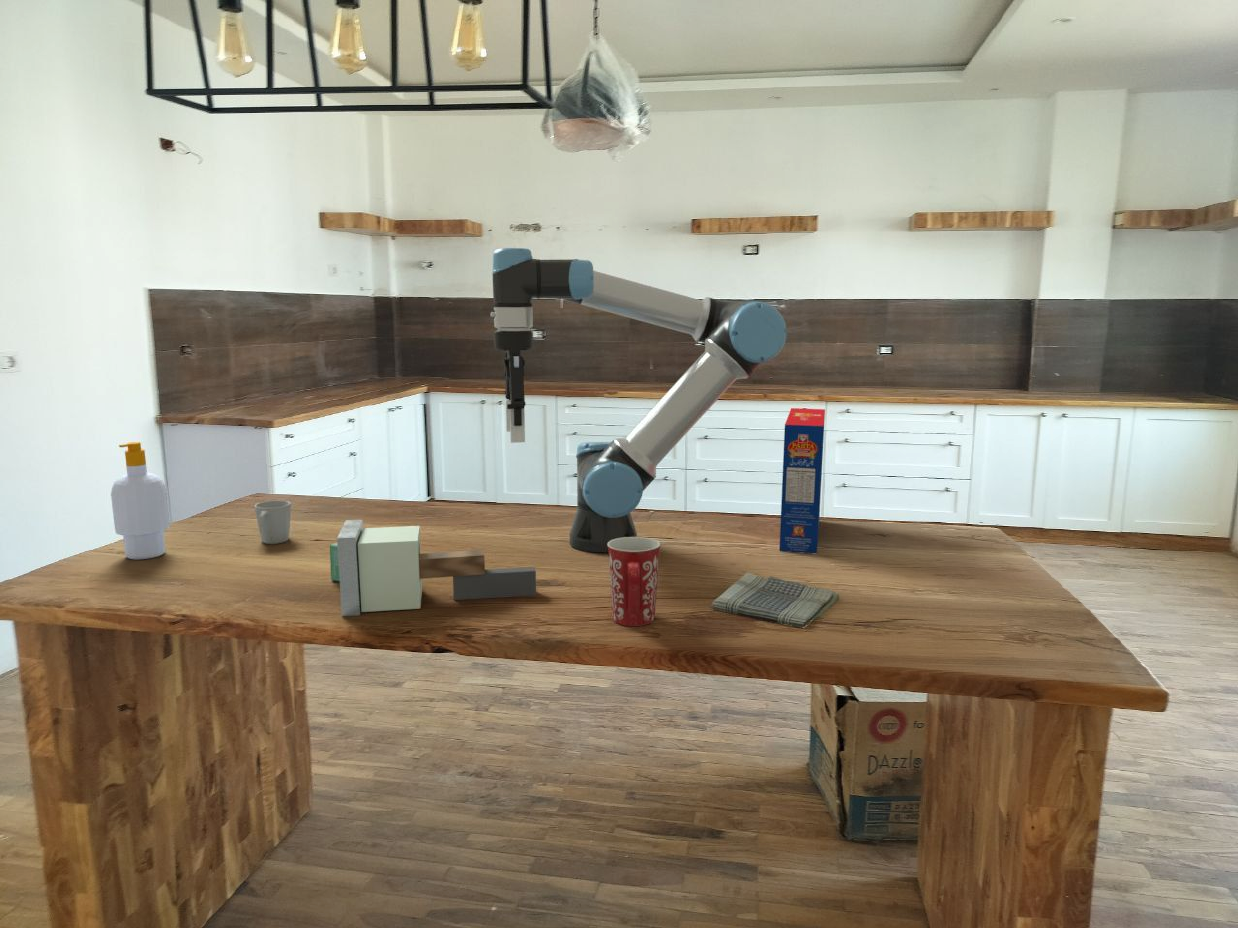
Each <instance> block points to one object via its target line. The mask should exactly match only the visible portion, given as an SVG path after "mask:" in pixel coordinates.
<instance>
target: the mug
mask: <svg viewBox="0 0 1238 928" xmlns="http://www.w3.org/2000/svg"><path fill="white" fill-rule="evenodd" d="M661 546H662V545H661V543H660V541H658V540H656V539H652V538H649V537H640V536H637V537H623V538H617V539H613V540H611V541H609V542H608V543H607V547H608V549H609V552H608V560H609V561H608V563H609V565H608V566H609V576H610V577H609V579H610V593H611V612H612V620H613V621H614V622H615V623H617V624H619V625H622V626H627V627H642V626H646V625H649V624H651V623H653V622H654V621H655V619H656V618H655V617H656V603H657V588H658V586H657V585H658V574H659V573H658V572H659V557H660V549H661Z"/></svg>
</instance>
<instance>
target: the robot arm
mask: <svg viewBox="0 0 1238 928" xmlns="http://www.w3.org/2000/svg"><path fill="white" fill-rule="evenodd" d="M491 273H492V296H493V297H492V298H493V300H492V301H493V310H494V311H491V312H490V317H491V318H494V319H493V324H494V326H493V327H494V328H495V329H497V330H495V331H494V332H493V337H494V338H493V343H494V344H493V347H494V349H495V350H496V351H506V352H505V353H504V357H505V358H503V368H504V372H503V373H504V377H505V387H504V388H505V390H504V394H505V415H506V416H505V417H506V419H505V422H506V425H505V429H506V433H508V432H509V433H510V443H512V444H513V443H526V434H525V433H526V431H525V430H526V429H525V428H526V425H525V423H526V422H525V419H526V418H525V415H526V414H525V407H526V404H527V403H526V401H525V367H526V365H525V364H526V363H525V361H526V360H525V359H524V356H521V354H522V353H521V351H530V350H532V349H533V348H534V342H533V340H534V335H533V332H532V330H530V329H532V328H533V327H534V325H533V324H534V321H533V320H534V318H533V317H534V314H533V310H534V309H533V299H537V300H538V299H539V300H540V299H547V300H549V299H550V300H553V299H554V300H555V299H556V300H562V301H565V302H570V303H573V304H576V305H577V304H578V305H580V306H581V305H582V306H585V307H589V308H593V309H595V310H600V311H603V312H606V313H611V314H615V315H618V316H622V317H626V318H629V319H632V320H636V321H640V322H644V323H647V324H651V325H654V326H657V327H662V328H666V329H670V330H674V331H677V332H680V333H685V334H688V335H690V336H691V337H692V338H693V339H694V341H695V342H699V343H703V344H704V347H705V348H704V352H703V353H702V354H700V356H698V358H697V359H696V360H695V361H694V363H693V364H692V365H691V366H690V367H688V369H687V370H686V371H685V372H684V373H683V375H681V377H679V378H678V380H677V381H676V382H675V383H674V384H673V385H672V387H670V388H669V390H668V391H666V393H665V394H664V395H663V396H662V397H661V399H660V400H658V402H656V404H655V405H654V406H653V407H652V408H651V409H650V410H649V412H648V413H647V414H646V415H645V416H644V417H643V418H642V419H641V420H640V421H639V422H638V424H636V425H635V427H634V428H633V429H632V430H631V431H630V432H629V433H628V434H627V435H626V436H625V437H623V438H622V437H621V438H613V440H612V441H592V442H591V441H589V442H581V443H579V444H578V445H577V449H576V456H575V457H576V463H577V464H576V472H577V473H576V481H577V484H576V485H577V487H576V488H577V489H576V494H577V496H576V497H577V498H576V500H577V503H576V504H577V505H576V507H577V509H576V513H575V517H574V518H573V522H572V525H571V529H570V531H569V546H571V547H572V548H574V549H577V550H580V551H585V552H589V553H590V552H591V553H609V549H608V547H607V543H608V542H609V541H611V540H613V539H617V538H623V537H638V533H637V530H636V526H635V522H634V520H633V516H632V514H631V513H632V512H633V511H634V510H635V509H636V508H637V507H638V506H639V503H640V502H641V501H642V497H643V492H644V491H645V490H646V489H647V488H648V487H649V485H650V484H651V483H653V481H654V480H655V479H656V478H657V466H658V465H659V464H660V463H661V462H662V461H663V460H664V459H665V457H666V456H667V455H668V454H669V453H670V452H671V450H673V448H675V446H676V445H677V444H678V443H679V442H680V441H681V440H682V439H683V438H684V436H685V435H687V433H688V432H689V431H691V429H692V428H693V427H694V426H695V424H697V422H698V421H700V419H701V418H702V417H703V416H704V415H705V414H706V413H707V412H708V410H710V408H711V407H712V406H713V405H714V404H715V403H716V402H717V401H718V400H719V399H720V398H721V397H722V395H723V394H724V393H725V392H726V391H727V390H728V389H729V388H730V387H731V386H732V385H733V383H735V382H736V380H744V379H748V378H749V377H750V376H751V375H752V374H753V373H754V372H755V371H756V370H757V369H758V368H759V367H760V365H761V364H763V363H767V362H769V361H771V360H772V359H774V358H776V356H778V355H779V354H780V352H782V349H783V348H784V346H785V343H786V339H787V325H786V321H785V319H784V317H783V315H782V314H781V313H780V311H779V310H777V308H776V307H774V306H772V305H771V304H768V303H766V302H765V301H761V300H752V301H751V300H750V301H744V300H743V301H739V300H738V301H737V300H736V301H729V300H721V299H716V298H712V297H709V296H706V297H705V298H703V299H697V298H696V297H695V298H694V297H690V296H687V295H683V294H680V293H676V292H672V291H669V290H665V289H663V288H662V289H661V288H659V287H654V286H651V285H647V284H643V283H639V282H636V281H632V280H630V279H629V280H628V279H625V278H621V277H618V276H613V275H611V274H610V275H609V274H606V273H603V272H600V271H598V270H597V271H596V270H594V266H593V263H592V261H590V260H588V259H578V258H574V259H538V258H533V255H532V251H531V249H530V248H526V247H525V248H520V247H519V248H517V247H502V248H497V249H496V250H494V252H493V253H492V272H491Z"/></svg>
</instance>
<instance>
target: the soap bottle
mask: <svg viewBox="0 0 1238 928" xmlns="http://www.w3.org/2000/svg"><path fill="white" fill-rule="evenodd" d="M118 447H119V448H127V450H125V451H124V456H125V466H126V467H125V468H126V474H124V475H122V476H120V477H119V478H117V479H116V480H115V481H114V482H113V484H112V487H111V493H110V497H111V507H112V514H113V525H114V530H115V533H116V535H119V536H123V537H122V538H123V546H124V556H125V557H126V558H127V559H130V560H147V559H153V558H154V559H155V558H157V557H160V556H163V554H165V553H166V539H165V531H167V530H169V528H170V527H171V518H170V510H169V509H170V508H169V499H168V492H167V487H166V485H165V482H164V481H163V480H162V479H161V477H160V476H159V475H157V474H154V473H152V472H148V470H147V468H148V467H147V461H146V451H145V449H143V448H142V444H141V442H140V441H134V442H133V441H132V442H127V443H124V444H119V445H118Z"/></svg>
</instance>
